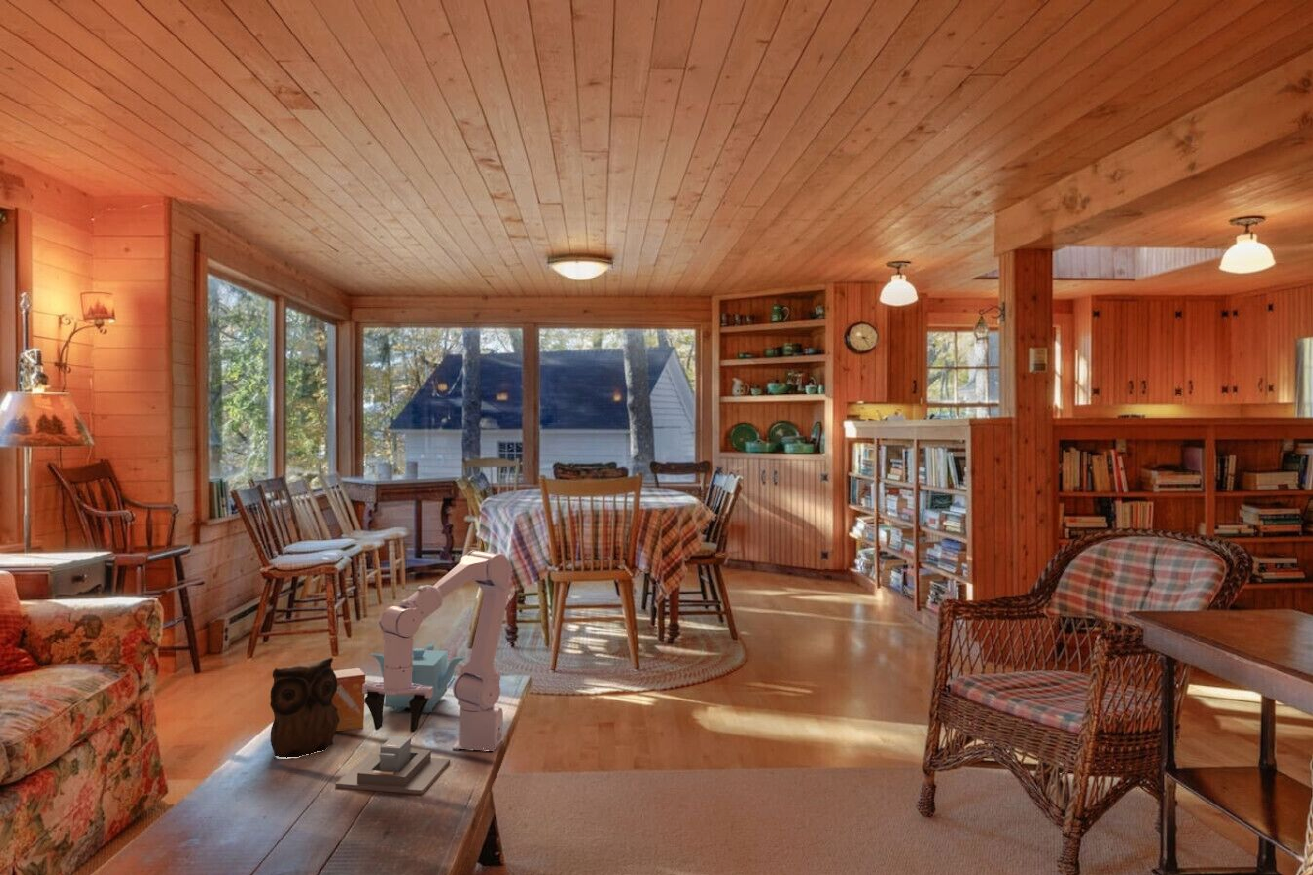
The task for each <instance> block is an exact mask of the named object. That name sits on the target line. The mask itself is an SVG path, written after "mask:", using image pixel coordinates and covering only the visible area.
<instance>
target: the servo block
mask: <svg viewBox="0 0 1313 875" xmlns="http://www.w3.org/2000/svg"><path fill="white" fill-rule="evenodd" d="M411 744H412V737H407V736H396V735H395V736H394V735H392V736H391V737H390V738H389V739H388V740H387V741H386V742H384V743H383V744H382V745H381V746H380V752H379V753H380V754H379V753H378V754H379V757H380V771H392V772H400V771H401V770H402V769H403V768H404V767H405V766H406V765H407V764H408V763H409V762H410V751H411V749H412V748H411V746H412V745H411Z"/></svg>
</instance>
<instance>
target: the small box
mask: <svg viewBox="0 0 1313 875" xmlns="http://www.w3.org/2000/svg"><path fill="white" fill-rule="evenodd" d="M333 671H334V673H335V675H336V680H337V691H336V693H335V694H334V696H333V698H332V702H333V704H334V705H335V707H336V708H337V714H338V715H339V719H340V721H339V723H338V725H337V729H336V733H337V732H341V731H348V730H356V729H363V728H364V717H365V695H366V694H362V685H363V684H365V683H366V674H365V673H364V671H363V670H361V669H360V667H355V668H346V669H345V668H344V669H343V668H342V669H338V670H333Z"/></svg>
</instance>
